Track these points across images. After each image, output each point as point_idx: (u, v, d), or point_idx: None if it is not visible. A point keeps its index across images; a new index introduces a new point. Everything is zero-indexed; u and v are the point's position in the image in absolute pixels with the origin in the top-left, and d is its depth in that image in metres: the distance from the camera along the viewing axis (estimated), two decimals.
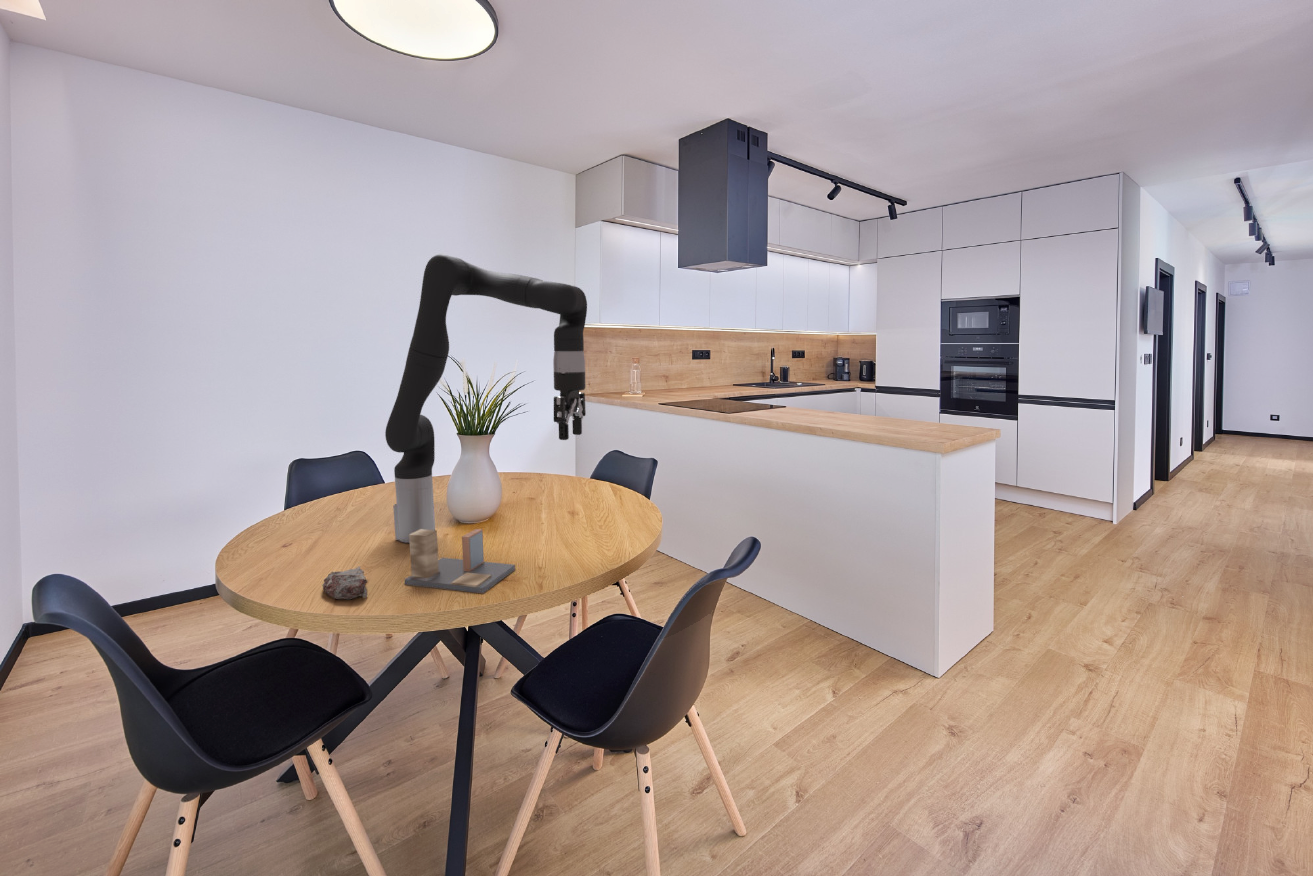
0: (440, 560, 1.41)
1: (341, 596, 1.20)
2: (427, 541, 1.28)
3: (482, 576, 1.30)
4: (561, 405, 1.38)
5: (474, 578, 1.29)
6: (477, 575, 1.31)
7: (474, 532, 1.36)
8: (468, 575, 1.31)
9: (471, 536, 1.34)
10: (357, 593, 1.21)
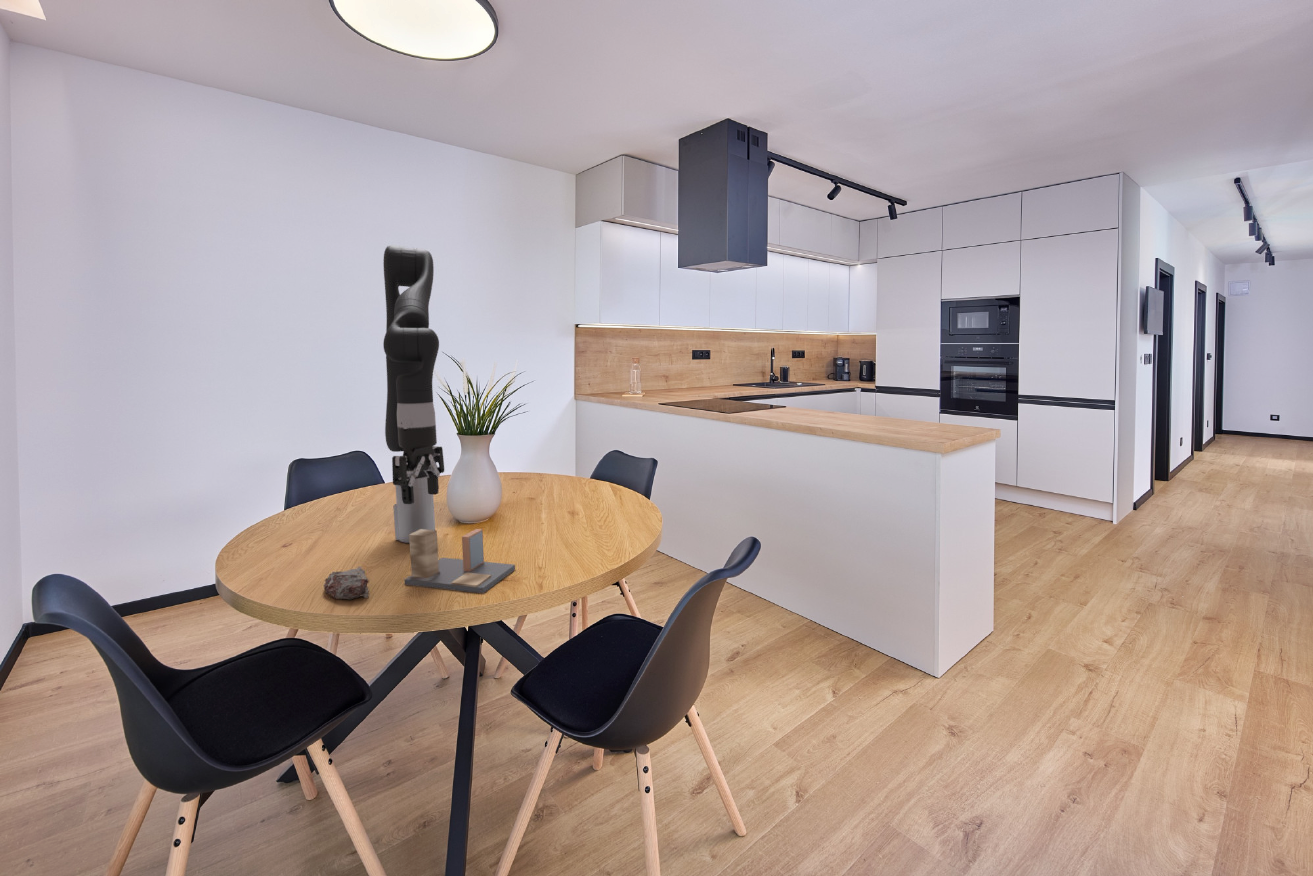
0: (440, 560, 1.41)
1: (342, 596, 1.20)
2: (427, 541, 1.28)
3: (482, 576, 1.30)
4: (400, 466, 1.21)
5: (474, 578, 1.29)
6: (477, 575, 1.31)
7: (474, 532, 1.36)
8: (468, 575, 1.31)
9: (471, 536, 1.34)
10: (359, 593, 1.21)
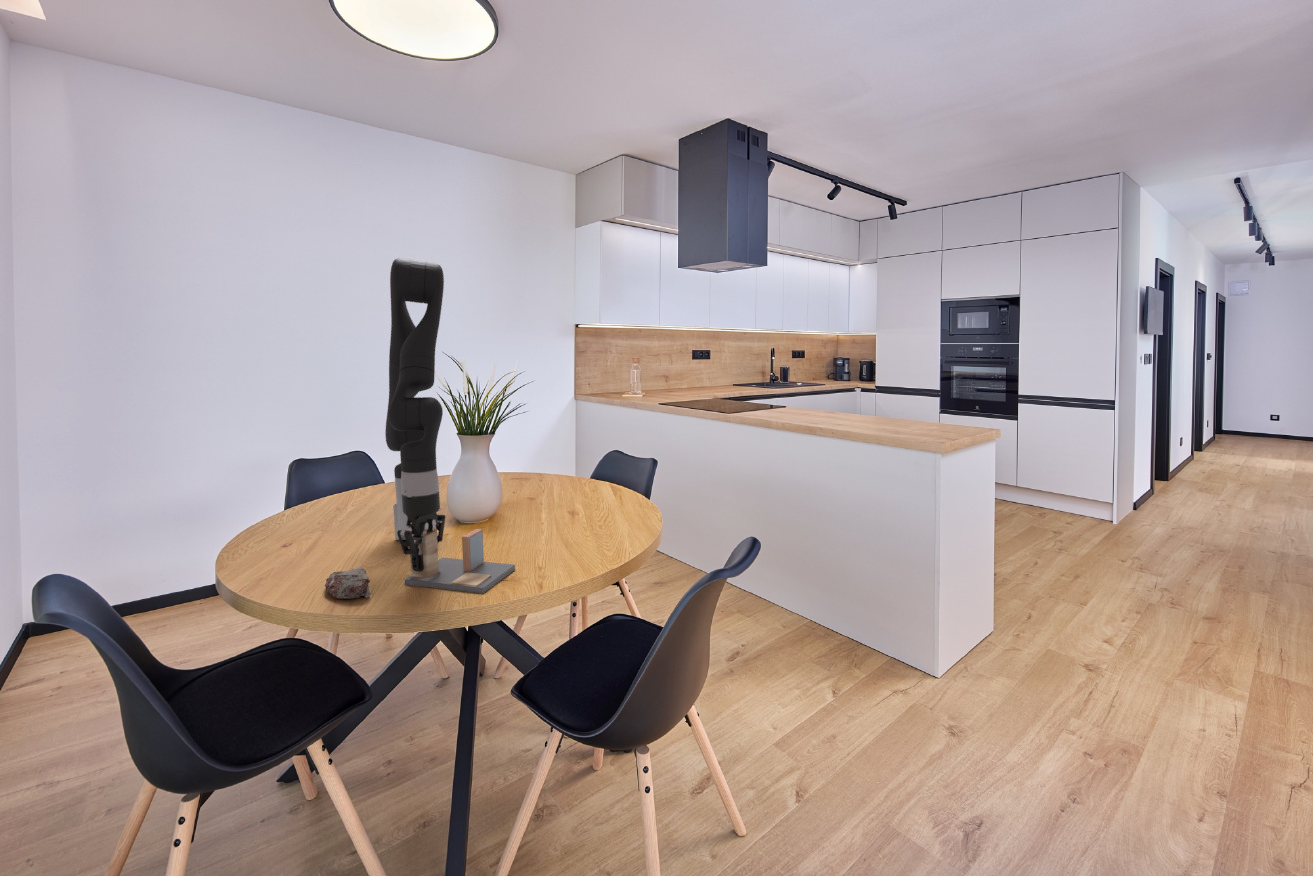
0: (440, 560, 1.41)
1: (344, 596, 1.21)
2: (427, 541, 1.28)
3: (482, 576, 1.30)
4: (407, 540, 1.24)
5: (474, 578, 1.29)
6: (477, 575, 1.31)
7: (474, 532, 1.36)
8: (468, 575, 1.31)
9: (471, 536, 1.34)
10: (360, 592, 1.21)
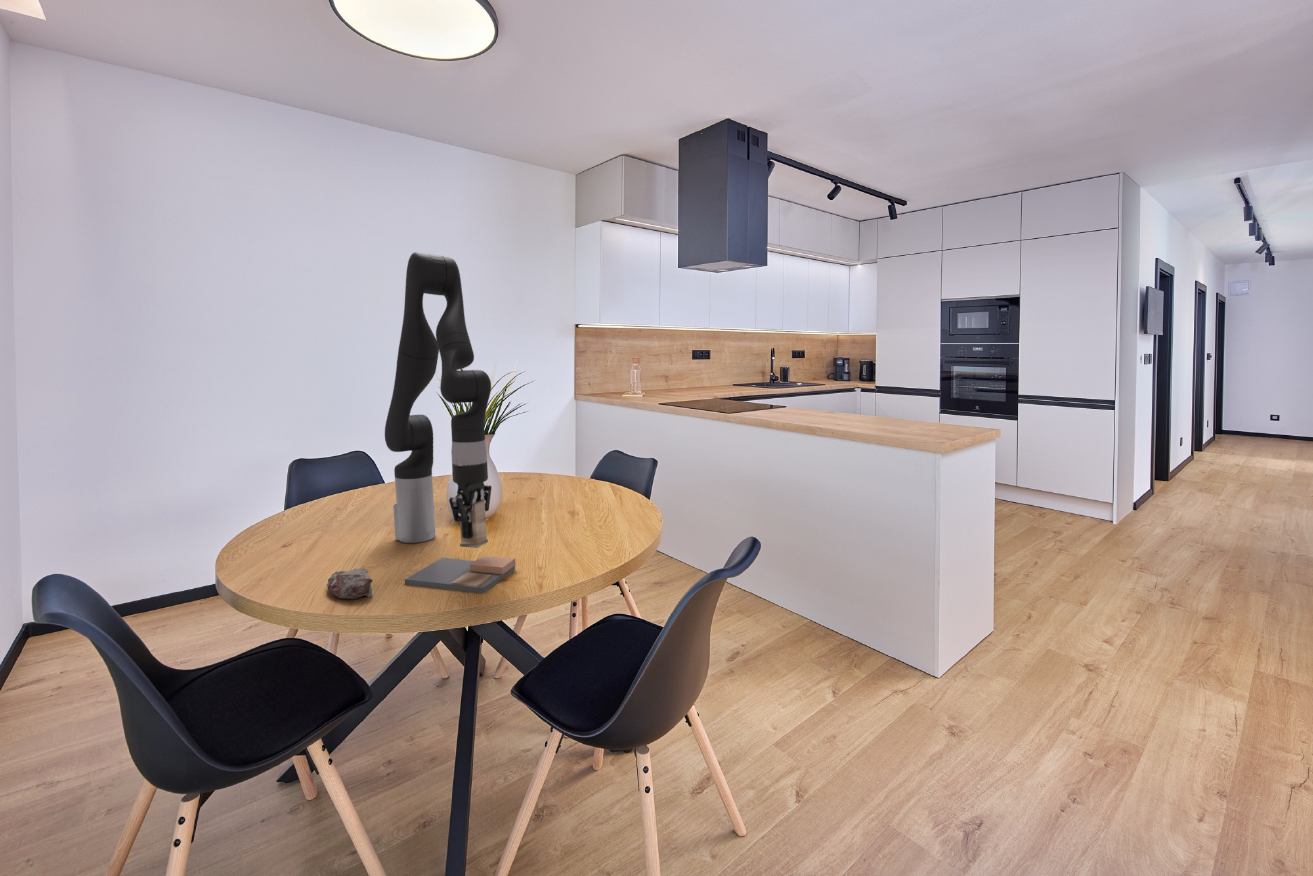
0: (440, 560, 1.41)
1: (346, 595, 1.21)
2: (476, 509, 1.33)
3: (482, 576, 1.30)
4: (458, 507, 1.28)
5: (474, 578, 1.29)
6: (477, 575, 1.31)
7: (510, 566, 1.35)
8: (468, 575, 1.31)
9: (504, 572, 1.33)
10: (363, 592, 1.22)
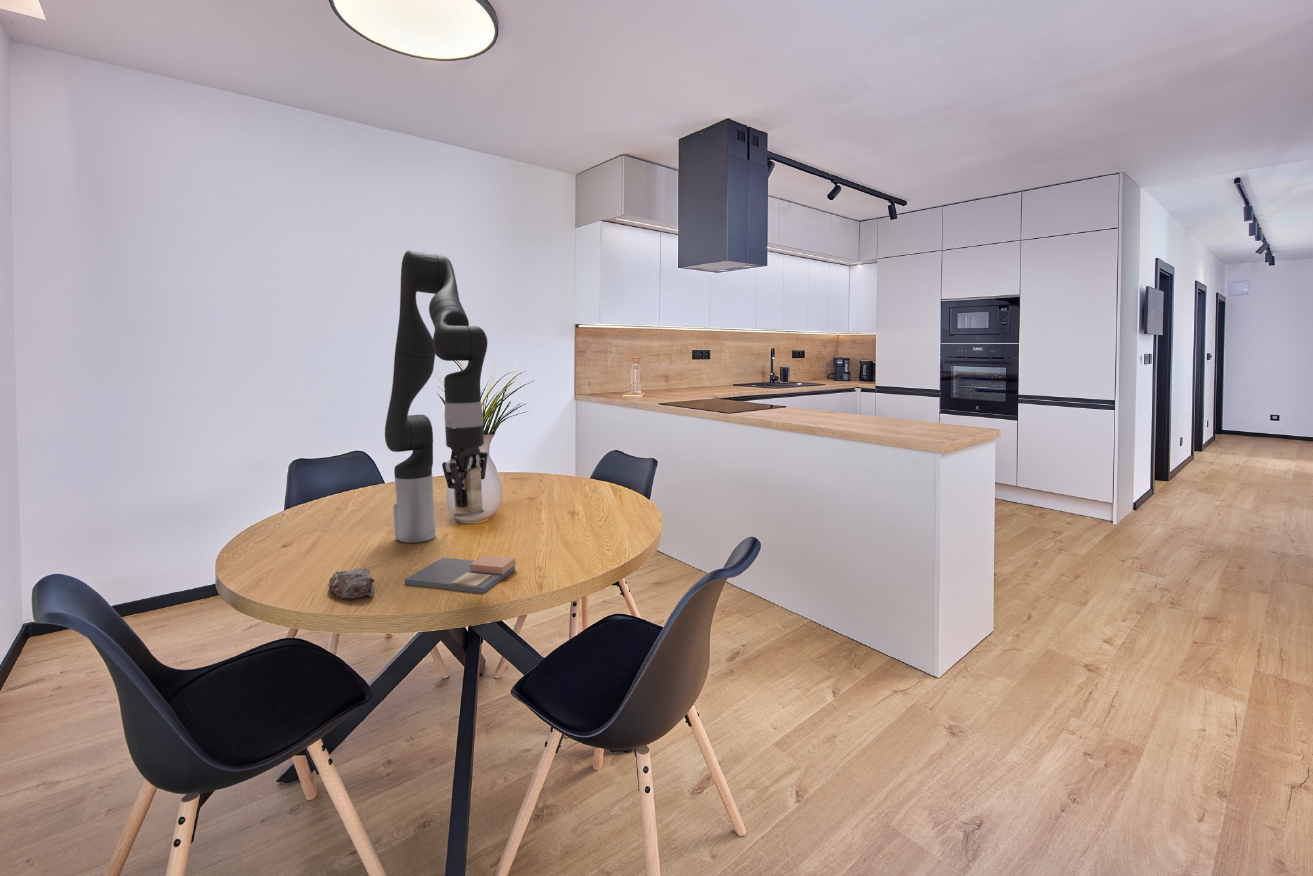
0: (440, 560, 1.41)
1: (348, 595, 1.21)
2: (472, 476, 1.24)
3: (482, 576, 1.30)
4: (452, 473, 1.19)
5: (474, 578, 1.29)
6: (477, 575, 1.31)
7: (510, 566, 1.35)
8: (468, 575, 1.31)
9: (504, 572, 1.33)
10: (365, 592, 1.22)
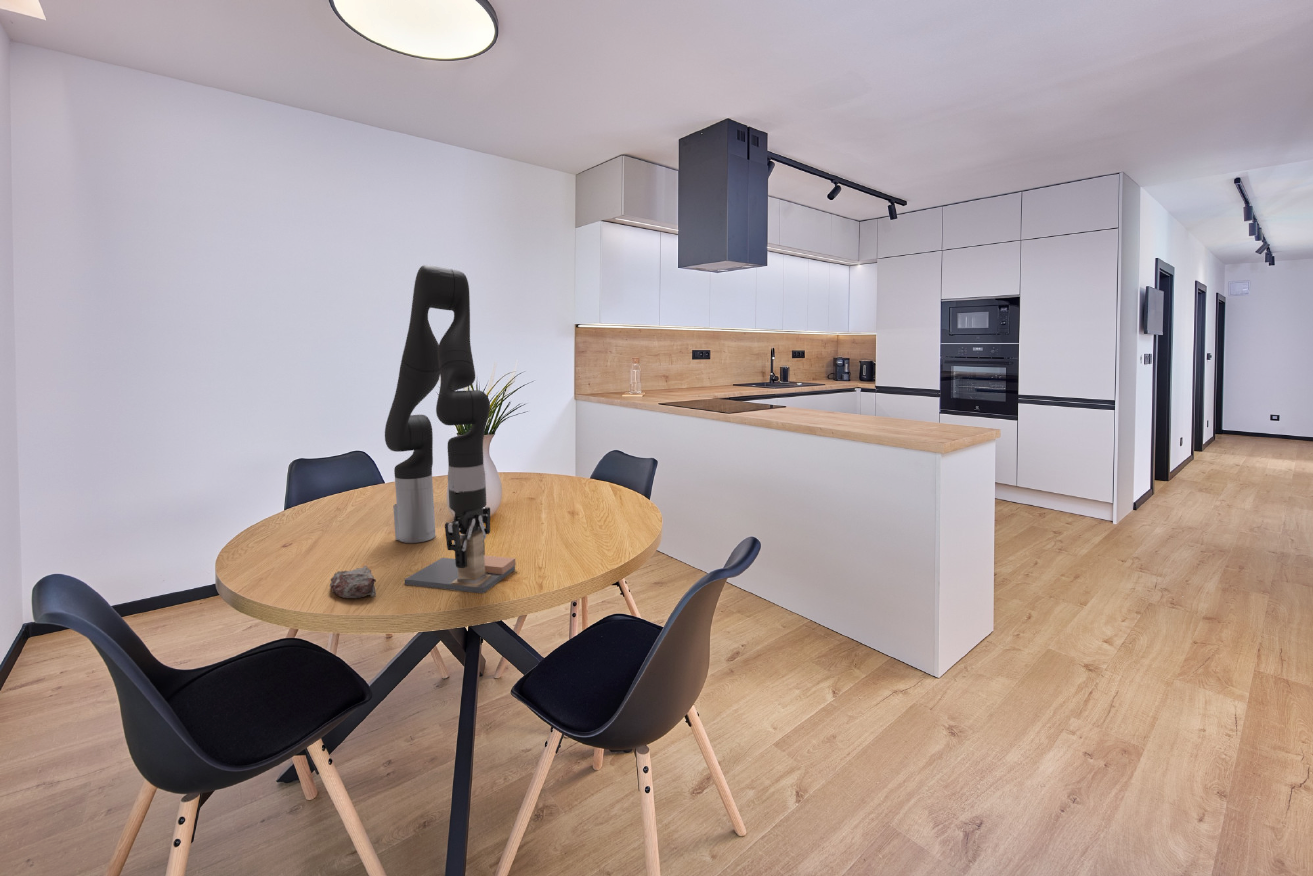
0: (440, 560, 1.41)
1: (350, 595, 1.21)
2: (474, 543, 1.26)
3: None
4: (454, 533, 1.21)
5: None
6: None
7: (510, 566, 1.35)
8: None
9: (504, 572, 1.33)
10: (366, 592, 1.22)
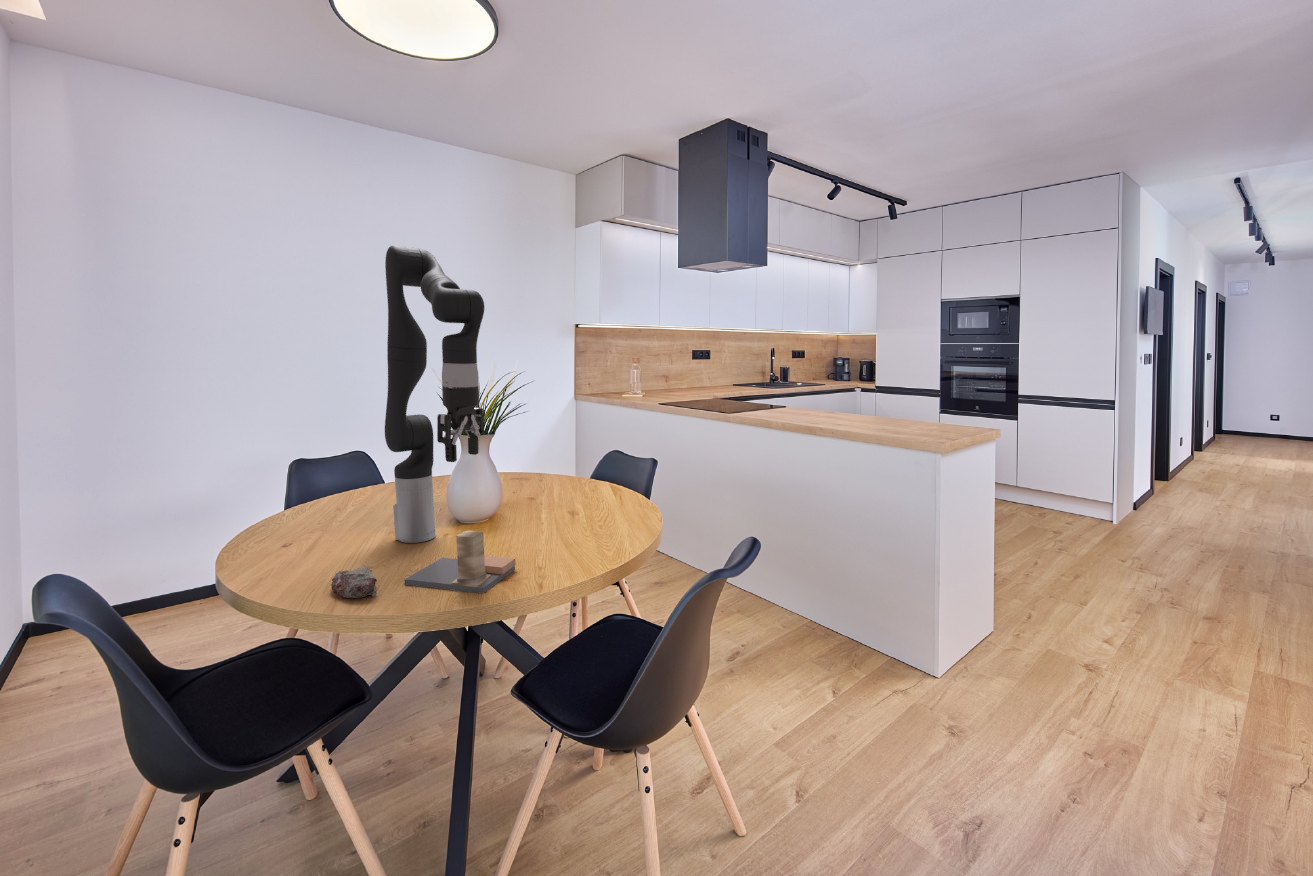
0: (440, 560, 1.41)
1: (351, 595, 1.21)
2: (474, 543, 1.26)
3: None
4: (445, 424, 1.24)
5: None
6: None
7: (510, 566, 1.35)
8: None
9: (504, 572, 1.33)
10: (367, 591, 1.22)
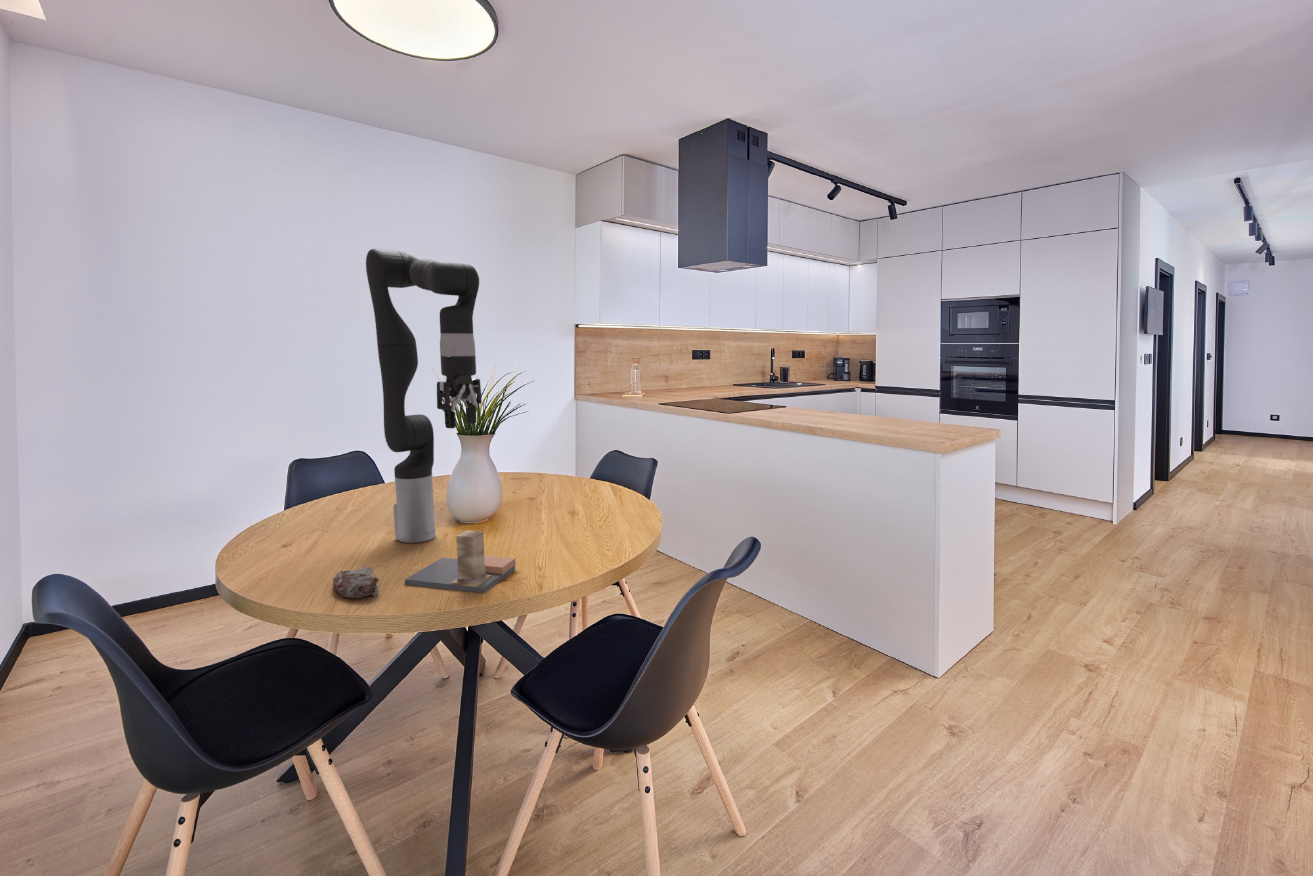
0: (440, 560, 1.41)
1: (353, 595, 1.21)
2: (474, 543, 1.26)
3: None
4: (444, 391, 1.29)
5: None
6: None
7: (510, 566, 1.35)
8: None
9: (504, 572, 1.33)
10: (369, 591, 1.22)
